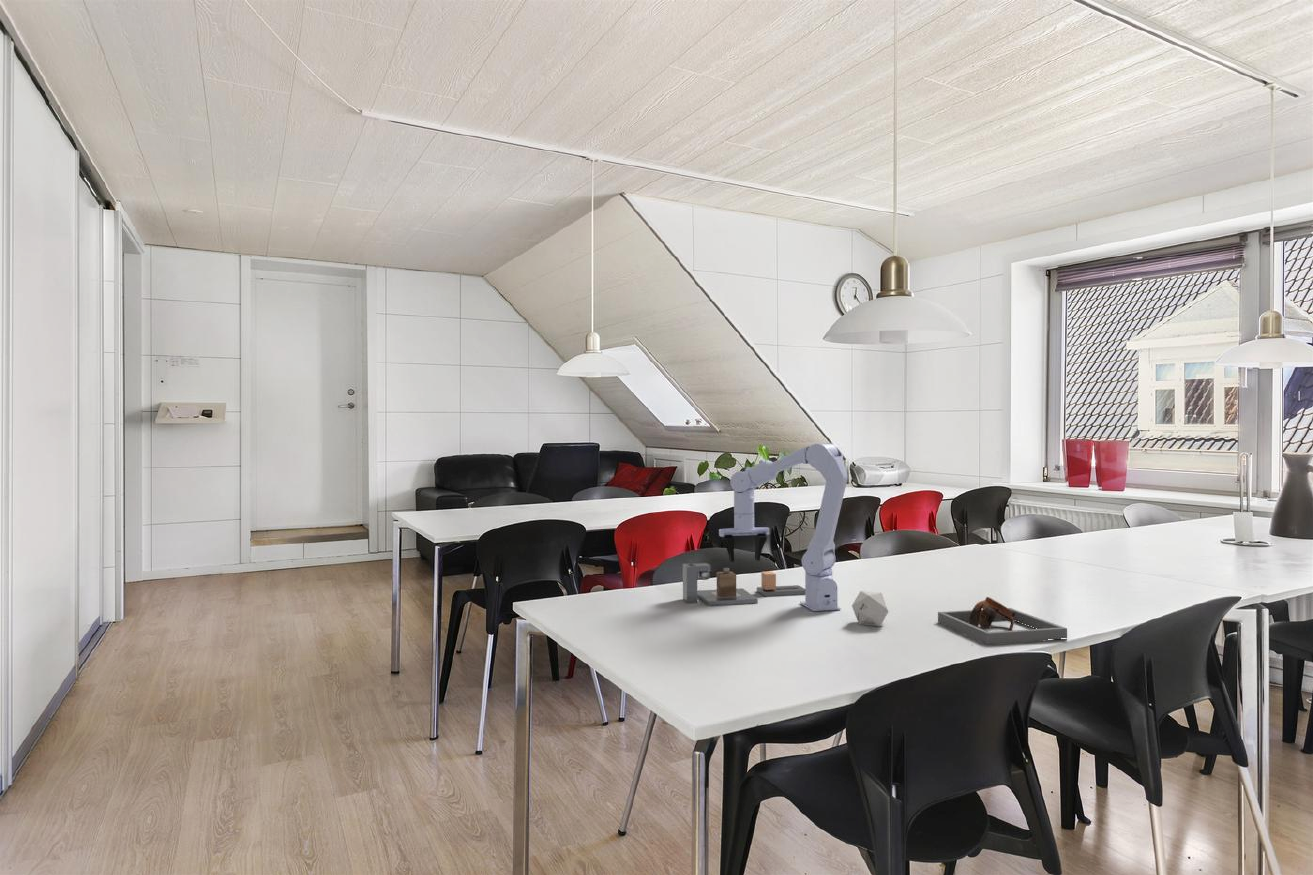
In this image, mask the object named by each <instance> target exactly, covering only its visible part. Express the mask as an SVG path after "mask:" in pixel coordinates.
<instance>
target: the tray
mask: <svg viewBox="0 0 1313 875" xmlns="http://www.w3.org/2000/svg"><path fill="white" fill-rule="evenodd" d="M1007 608H1008V609H1010V610H1012V611H1013V612H1014V613H1015V615H1014V616H1013V619H1014V620H1016V621H1019V622H1021V623H1023V624H1022V625H1024V624H1026V625H1029V626H1032V627H1034V628H1037V629H1034V628H1032V629H1018V630H1017V629H1015V630H1002V631H987V630H986V629H984V628H981V627H979V626H978V627H976V626H973V625H971V624H969V619H970V616H971V612H972V610H973V609H970V610H953V611H952V610H951V611H949V610H948V611H937V622H938V623H939V624H941V625H944V626H946V627H948V628H950V629H952V630H955V631H956V632H958V633H960V634H963V635H965V636H967V637H970V638H972V639H974V640H977V641H978V642H980V643H983V644H985V645H987V646H992V645H1001V644H1002V645H1005V644H1018V643H1032V642H1033V643H1034V641H1037V642H1044V641H1043V640H1048V639H1061V638H1067V639H1068V628H1067V627H1063V626H1062V625H1059V624H1055V623H1053V622H1050V621H1048V620H1045V619H1041V618H1039V617H1037V616H1034V615H1030V614H1028V613H1025V612H1022V611H1019V610H1017V609H1014V608H1012V607H1007ZM982 610H983V609H981V611H982ZM995 619H1001V620H1007V619H1006V618H1005V616H1002V615H1000V614H999V613H996V617H995V618H994V620H993V621H996V620H995ZM1016 621H1015V622H1016ZM1021 623H1020V624H1021ZM1026 625H1025V626H1026ZM1029 626H1028V627H1029Z"/></svg>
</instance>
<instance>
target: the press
mask: <svg viewBox="0 0 1313 875" xmlns="http://www.w3.org/2000/svg"><path fill="white" fill-rule="evenodd" d="M711 569H712V566H711V564H709V563H707V562H701V563H693V562H692V563H682V599H683V601H684V602H685V603H686V604H692V603H698V598H699V599H700V600H702V601H703V603H704V604H706V605H707V606H708V607H711V606H714V607H715V606H728V605H729V606H730V605H731V606H732V605H746V604H758V601H759V599H758V597H756V596H754V595H753V594H751V593H750V592H748V591H747V590H746V589H744V588H736V596H723V597H721V596H720V595H718V594H717V589H705V590H704V589H703V590H699V589H698V580H702V581H707V580H710V572H711V571H712V570H711Z"/></svg>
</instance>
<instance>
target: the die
mask: <svg viewBox="0 0 1313 875" xmlns="http://www.w3.org/2000/svg"><path fill="white" fill-rule="evenodd" d="M851 607H852V609H853V613H854V615H855V618H856V620H857V623H858V626H860V625H861V626H872V627H881V626H882V625H883V622H884V621H885V619H886V617H887V615H888V614H889V608H888V606H887V604H886V600H885V598H884V595H883V593H882V592H877V591H865V590H864V591H863V590H861V591H859V593H858V595H857V596H856V597H855V599H854V602H853V603H852V605H851Z"/></svg>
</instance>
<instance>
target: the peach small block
mask: <svg viewBox="0 0 1313 875" xmlns="http://www.w3.org/2000/svg"><path fill="white" fill-rule="evenodd" d="M760 576H761V587H762V588H764V589H765V590H776V586H777V574H776V573H775V572H773V571H761V575H760Z"/></svg>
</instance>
